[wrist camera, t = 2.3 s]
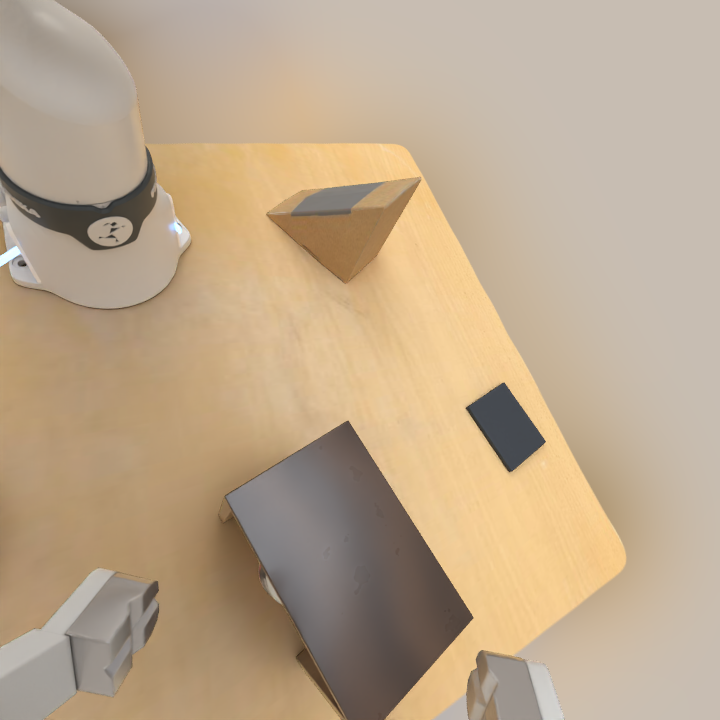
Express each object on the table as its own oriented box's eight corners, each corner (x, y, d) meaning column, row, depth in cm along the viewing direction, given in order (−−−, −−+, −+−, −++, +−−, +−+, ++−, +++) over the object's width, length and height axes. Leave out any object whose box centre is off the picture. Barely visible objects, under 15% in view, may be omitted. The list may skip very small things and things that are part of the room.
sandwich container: (303, 188, 61) (328, 94, 48) (378, 254, 61) (424, 176, 48) (264, 214, 57) (280, 117, 44) (345, 284, 57) (385, 208, 44)
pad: (465, 407, 55) (468, 406, 54) (501, 383, 59) (504, 382, 58) (509, 472, 53) (512, 471, 53) (543, 442, 57) (546, 441, 56)
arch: (301, 667, 37) (361, 745, 23) (218, 514, 40) (224, 496, 25) (381, 593, 42) (474, 617, 27) (302, 461, 45) (348, 420, 30)
